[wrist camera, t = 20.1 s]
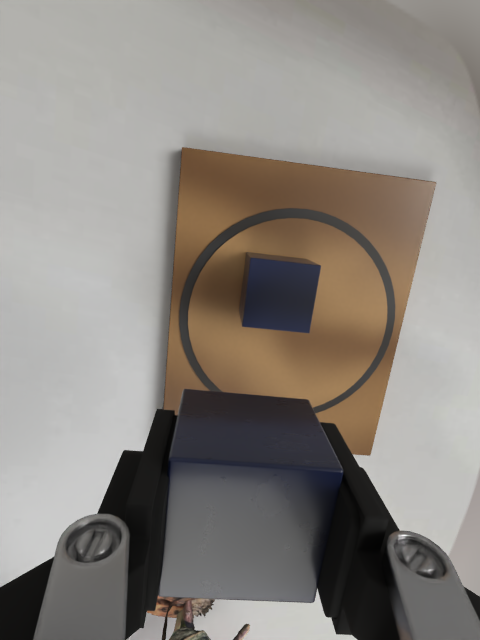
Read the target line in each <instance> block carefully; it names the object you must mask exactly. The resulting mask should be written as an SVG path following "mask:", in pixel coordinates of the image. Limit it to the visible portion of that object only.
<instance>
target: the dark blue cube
mask: <svg viewBox="0 0 480 640" xmlns="http://www.w3.org/2000/svg"><path fill="white" fill-rule="evenodd" d="M320 270H321V265H319V264H316V263H314V262H312V261H310V260H308V259H303V258H295V257H286V256H278V255H269V254H260V253H252V252H246V257H245V265H244V274H243V282H242V290H241V298H240V306H239V314H240V319H241V324H242V327H249V328H259V329H269V330H279V331H289V332H300V333H310V327H311V322H312V316H313V310H314V304H315V299H316V293H317V287H318V282H319V276H320Z"/></svg>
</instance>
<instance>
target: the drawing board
mask: <svg viewBox="0 0 480 640" xmlns="http://www.w3.org/2000/svg"><path fill="white" fill-rule="evenodd" d="M435 186H436V182H432V181H424V180H417V179H410V178H402V177H395V176H388V175H381V174H373V173H366V172H359V171H352V170H344V169H337V168H330V167H323V166H315V165H308V164H301V163H293V162H286V161H279V160H272V159H264V158H257V157H250V156H243V155H235V154H228V153H221V152H213V151H206V150H199V149H192V148H184V147H182V154H181V168H180V182H179V196H178V210H177V224H176V238H175V252H174V266H173V281H172V295H171V309H170V323H169V337H168V351H167V365H166V379H165V393H164V407H163V410H175V415H178V411H179V406H180V401H181V397H182V392H183V390H184V389H194V390H205V391H217V392H228V393H240V394H252V395H263V396H275V397H286V398H298V399H307V400H309V401H310V403H311V405H312V408H313V410H314V412H315V414H316V416H317V418H318V420H319V422H324V423H334V424H335V425H336V426H337V428H338V430H339V432H340V433H341V435H342V437H343V439H344V441H345V442H346V444H347V446H348V448H349V449H350V451H351V453H352V454H356V455H370V454H371V450H372V446H373V442H374V438H375V434H376V430H377V425H378V421H379V417H380V413H381V409H382V405H383V401H384V396H385V392H386V388H387V384H388V380H389V376H390V372H391V368H392V363H393V359H394V355H395V351H396V347H397V343H398V339H399V334H400V330H401V326H402V322H403V318H404V314H405V310H406V306H407V301H408V297H409V293H410V289H411V285H412V281H413V277H414V272H415V268H416V264H417V260H418V256H419V252H420V248H421V243H422V239H423V235H424V231H425V227H426V223H427V219H428V215H429V210H430V206H431V202H432V198H433V194H434V190H435ZM246 252H252V253H260V254H269V255H278V256H286V257H295V258H303V259H308V260H310V261H312V262H314V263H316V264H319V265H321V270H320V276H319V282H318V287H317V293H316V299H315V304H314V310H313V316H312V322H311V327H310V333H300V332H289V331H279V330H269V329H259V328H249V327H242V324H241V319H240V314H239V306H240V298H241V290H242V282H243V274H244V265H245V257H246Z"/></svg>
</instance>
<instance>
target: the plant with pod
mask: <svg viewBox="0 0 480 640" xmlns="http://www.w3.org/2000/svg"><path fill="white" fill-rule="evenodd" d="M214 601H215V600H214V599H201V598H175V597H159V596H158V597H157V603H156V609H155V611H147V613H151V614H152V615H156V616H162V617H165V623H164V628H163V635H162V640H165V639H166V629H167V617H172V618H177V619H176V624H175V629H174V632H173V634H172V636H171V638H170V639H169V640H210V638H209V637H208V636H207V634H206V633H205V631H203V630H202V631H196V630H194V628H195V627H194V624H193V619H194V615H195V616H197V617H198V615H200V616H201V613H202V614H203V615H204V616H205V613H207V612H209V609H212V608H211V606H212V605H214V604H212V603H213V602H214ZM208 608H209V609H208ZM249 628H250V625H249V624H245V625H244V626H243V628H242V629H241V630H240V631H239V632H238V634H237V636H236V637H235V638H234V639H233V640H242V639H243V638H244V637H245V636H246V635H247V633H248V632H249Z"/></svg>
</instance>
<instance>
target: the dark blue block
mask: <svg viewBox="0 0 480 640" xmlns="http://www.w3.org/2000/svg"><path fill="white" fill-rule="evenodd" d="M167 476H168V477H169V482H168V494H167V506H166V518H165V530H164V542H163V554H162V566H161V577H160V585H159V591H158V596H159V597H175V598H201V599H227V600H253V601H279V602H304V603H313V602H314V600H315V596H316V592H317V585H318V581H319V576H320V572H321V567H322V563H323V558H324V554H325V550H326V545H327V541H328V536H329V532H330V527H331V523H332V519H333V514H334V510H335V505H336V501H337V496H338V492H339V488H340V485H341V481H342V476H343V468H342V466H341V464H340V462H339V460H338V458H337V456H336V454H335V452H334V450H333V448H332V446H331V444H330V442H329V440H328V438H327V436H326V434H325V432H324V430H323V428H322V426H321V424H320V422H319V420H318V418H317V416H316V414H315V412H314V410H313V408H312V405H311V403H310V401H309V400H307V399H298V398H286V397H275V396H263V395H252V394H240V393H228V392H217V391H205V390H194V389H184V390H183V392H182V397H181V401H180V406H179V411H178V416H177V420H176V425H175V430H174V434H173V439H172V444H171V449H170V453H169V458H168V469H167Z"/></svg>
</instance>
